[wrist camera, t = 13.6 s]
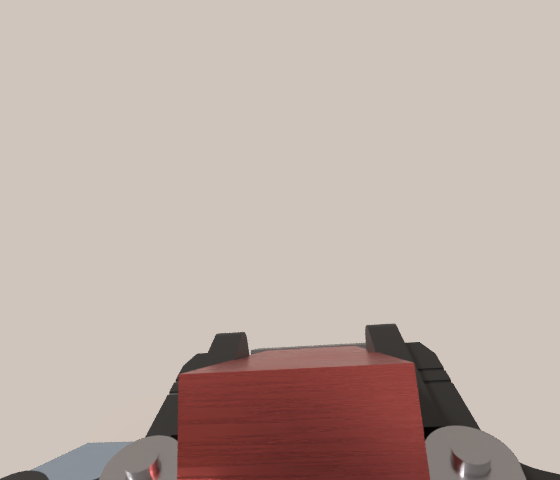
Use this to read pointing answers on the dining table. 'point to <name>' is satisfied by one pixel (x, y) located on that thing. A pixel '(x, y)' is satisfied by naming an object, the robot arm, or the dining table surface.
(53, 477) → the stand
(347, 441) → the grey red bar
